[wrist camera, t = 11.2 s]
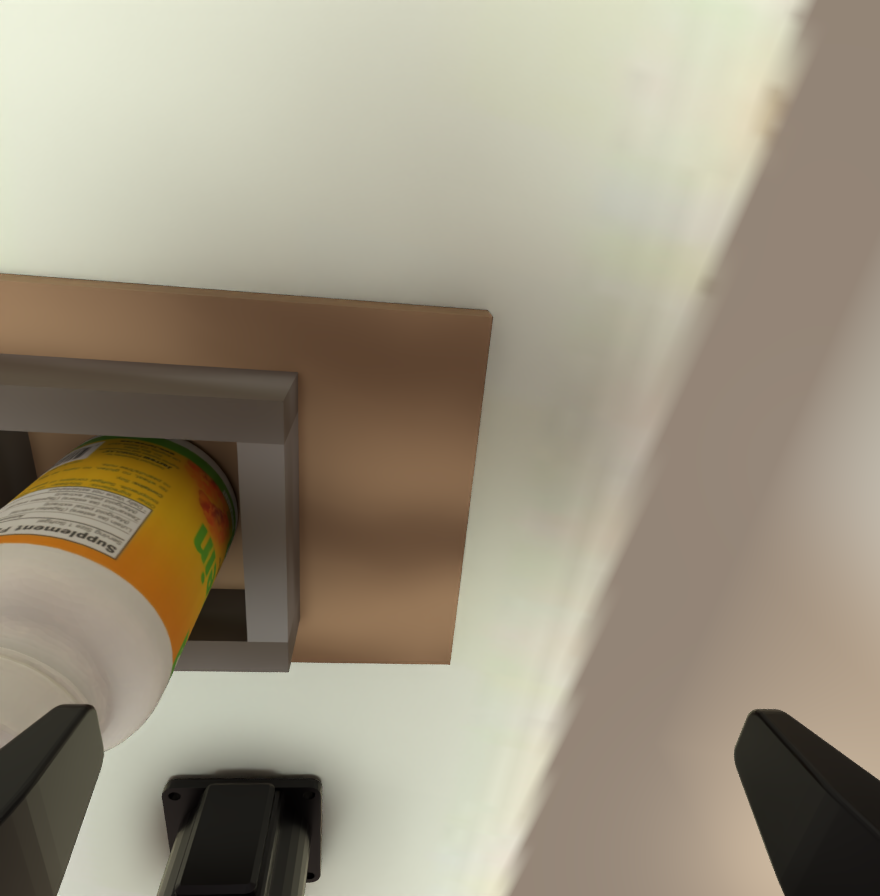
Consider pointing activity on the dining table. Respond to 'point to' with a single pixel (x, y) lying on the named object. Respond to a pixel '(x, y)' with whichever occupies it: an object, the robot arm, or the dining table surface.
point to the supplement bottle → (107, 578)
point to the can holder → (273, 448)
